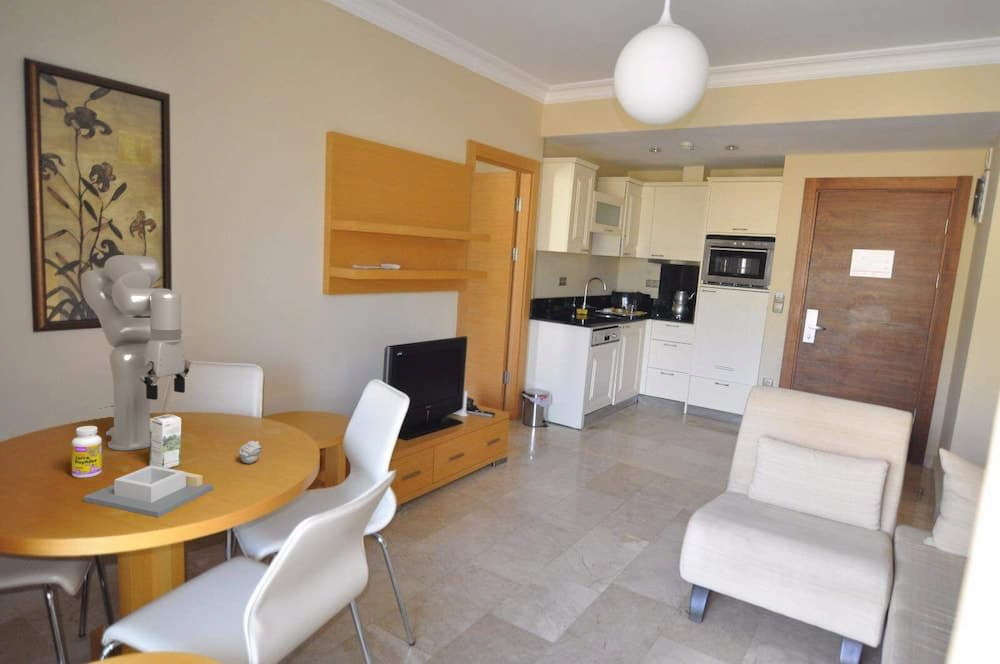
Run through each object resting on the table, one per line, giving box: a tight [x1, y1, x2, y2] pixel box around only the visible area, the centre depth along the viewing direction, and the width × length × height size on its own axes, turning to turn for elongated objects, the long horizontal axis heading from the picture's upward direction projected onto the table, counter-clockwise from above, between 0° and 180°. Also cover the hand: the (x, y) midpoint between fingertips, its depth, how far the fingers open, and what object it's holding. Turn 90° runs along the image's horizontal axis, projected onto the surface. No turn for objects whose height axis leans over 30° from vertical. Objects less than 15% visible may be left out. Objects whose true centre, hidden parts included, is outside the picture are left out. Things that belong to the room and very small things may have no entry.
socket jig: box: [83, 465, 214, 518], centre depth 149 cm, size 22×18×5 cm
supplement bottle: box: [71, 425, 103, 479], centre depth 158 cm, size 7×7×13 cm
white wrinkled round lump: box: [238, 440, 263, 464], centre depth 175 cm, size 6×7×7 cm
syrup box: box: [148, 414, 182, 469], centre depth 167 cm, size 6×6×14 cm
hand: (166, 395), depth 165 cm, fingers open, 9 cm apart
